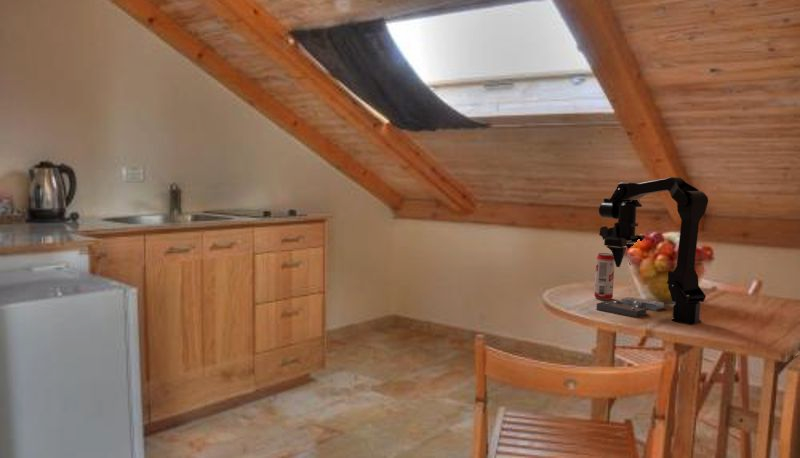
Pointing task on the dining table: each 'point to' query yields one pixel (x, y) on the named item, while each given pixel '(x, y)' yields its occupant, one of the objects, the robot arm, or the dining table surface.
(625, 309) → the fixed leaf
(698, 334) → the dining table surface
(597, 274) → the beer can
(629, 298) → the free leaf
